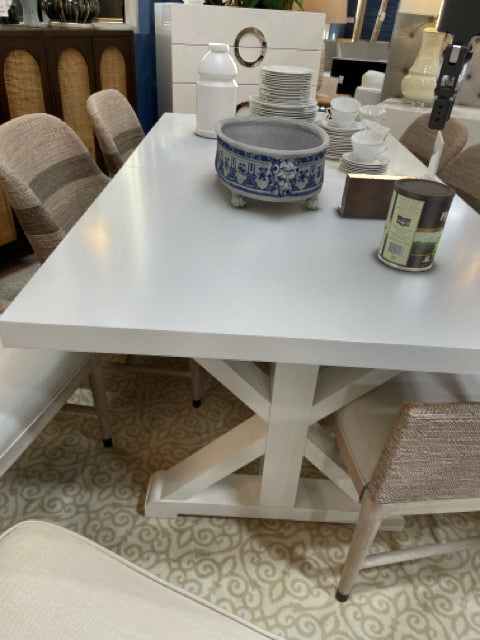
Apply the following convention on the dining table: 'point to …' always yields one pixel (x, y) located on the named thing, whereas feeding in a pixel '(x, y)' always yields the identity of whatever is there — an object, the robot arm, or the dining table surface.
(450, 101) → the robot arm
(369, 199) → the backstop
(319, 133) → the decorative bowl
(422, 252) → the coffee can
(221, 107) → the bottle
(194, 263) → the dining table surface
